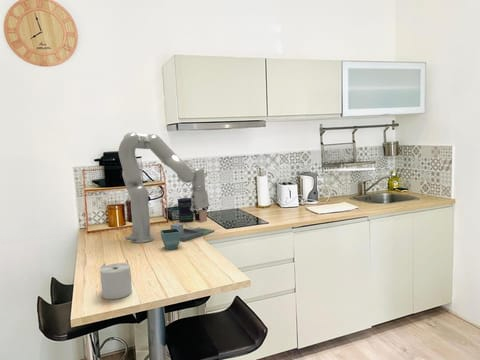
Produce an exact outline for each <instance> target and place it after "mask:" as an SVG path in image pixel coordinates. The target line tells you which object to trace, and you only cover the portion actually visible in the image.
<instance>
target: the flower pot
mask: <svg viewBox="0 0 480 360" xmlns="http://www.w3.org/2000/svg"><path fill="white" fill-rule="evenodd" d="M160 236H161V241H162V243H163V246H164V247H165V248H166V250H172V249H178V247H179V244H180V242H181V241H180V231H179V230H178V229H177V228H176V229H171V228H168V229H161V230H160Z"/></svg>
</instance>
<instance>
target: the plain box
mask: <svg viewBox="0 0 480 360" xmlns="http://www.w3.org/2000/svg"><path fill="white" fill-rule="evenodd" d="M176 228H177V229H178V230H179V231H180V236H183V235H184V231H183V228H184V223H181V222H177V223H176V222H175V223H173V224H170V229H176Z"/></svg>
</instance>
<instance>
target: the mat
mask: <svg viewBox="0 0 480 360" xmlns="http://www.w3.org/2000/svg"><path fill="white" fill-rule="evenodd" d="M191 230H196V231H201V232H203V236H205V235H209V234H211V233H215V230H213V229H209V228H202V227H195V228H191Z"/></svg>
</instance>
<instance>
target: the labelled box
mask: <svg viewBox="0 0 480 360" xmlns="http://www.w3.org/2000/svg"><path fill="white" fill-rule="evenodd" d="M196 211H197V209H196ZM198 214H199V221H198V220H195V219H194V222H195V223H200V224H202V223H205V222H207V221H208V216H207V215H208V214H207V212H206V210H202V208H201V209H199V212H198Z"/></svg>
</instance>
